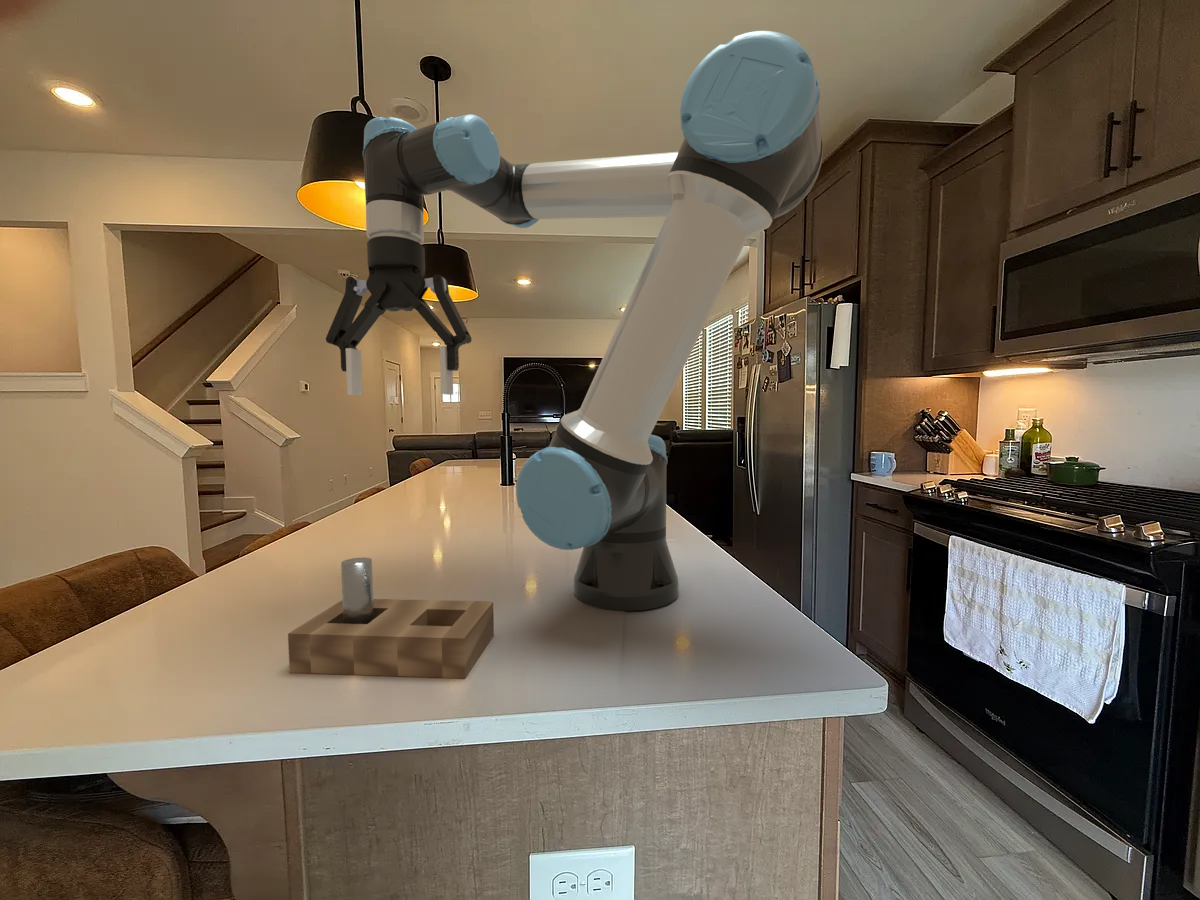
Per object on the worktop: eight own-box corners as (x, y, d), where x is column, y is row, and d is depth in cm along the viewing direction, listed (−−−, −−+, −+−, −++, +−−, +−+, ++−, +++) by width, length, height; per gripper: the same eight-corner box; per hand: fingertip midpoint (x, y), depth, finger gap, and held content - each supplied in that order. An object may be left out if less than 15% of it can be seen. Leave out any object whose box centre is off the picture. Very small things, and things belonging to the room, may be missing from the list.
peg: (380, 645, 57) (377, 557, 57) (366, 658, 55) (362, 565, 54) (354, 644, 58) (350, 557, 57) (339, 657, 55) (335, 565, 54)
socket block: (493, 635, 60) (493, 601, 60) (464, 678, 50) (464, 638, 50) (346, 631, 61) (345, 598, 61) (289, 672, 51) (287, 633, 51)
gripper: (490, 248, 75) (493, 394, 76) (327, 253, 77) (332, 396, 78) (474, 229, 67) (478, 392, 69) (293, 236, 69) (300, 394, 71)
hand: (400, 395), depth 73 cm, fingers open, 13 cm apart
